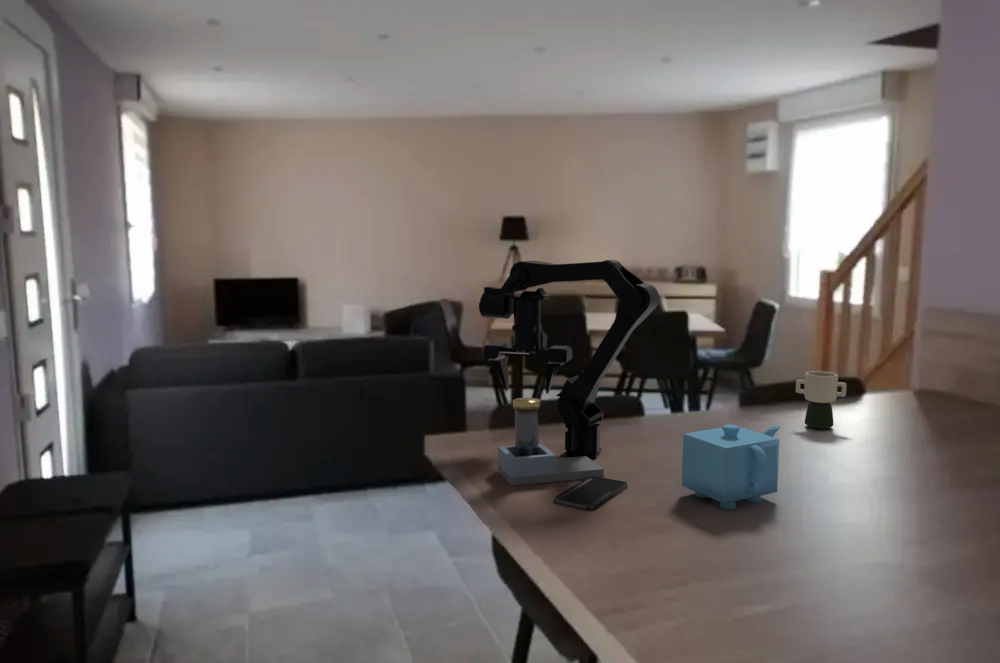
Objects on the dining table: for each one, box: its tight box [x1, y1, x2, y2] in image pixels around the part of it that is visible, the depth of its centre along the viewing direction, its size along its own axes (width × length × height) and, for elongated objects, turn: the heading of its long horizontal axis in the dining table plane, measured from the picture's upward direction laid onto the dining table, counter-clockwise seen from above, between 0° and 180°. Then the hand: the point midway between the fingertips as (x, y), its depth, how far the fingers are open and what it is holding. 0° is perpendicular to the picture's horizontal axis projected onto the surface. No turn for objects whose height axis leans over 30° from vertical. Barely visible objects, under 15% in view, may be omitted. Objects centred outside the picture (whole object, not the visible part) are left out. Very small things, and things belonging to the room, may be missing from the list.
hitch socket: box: [497, 442, 605, 487], centre depth 148 cm, size 18×9×5 cm, turn 106°
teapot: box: [681, 423, 782, 510], centre depth 135 cm, size 18×16×13 cm
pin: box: [512, 397, 541, 457], centre depth 146 cm, size 5×5×13 cm
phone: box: [553, 476, 628, 512], centre depth 136 cm, size 8×1×15 cm
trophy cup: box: [795, 370, 847, 429], centre depth 180 cm, size 11×7×13 cm, turn 65°
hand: (527, 391), depth 166 cm, fingers open, 9 cm apart
